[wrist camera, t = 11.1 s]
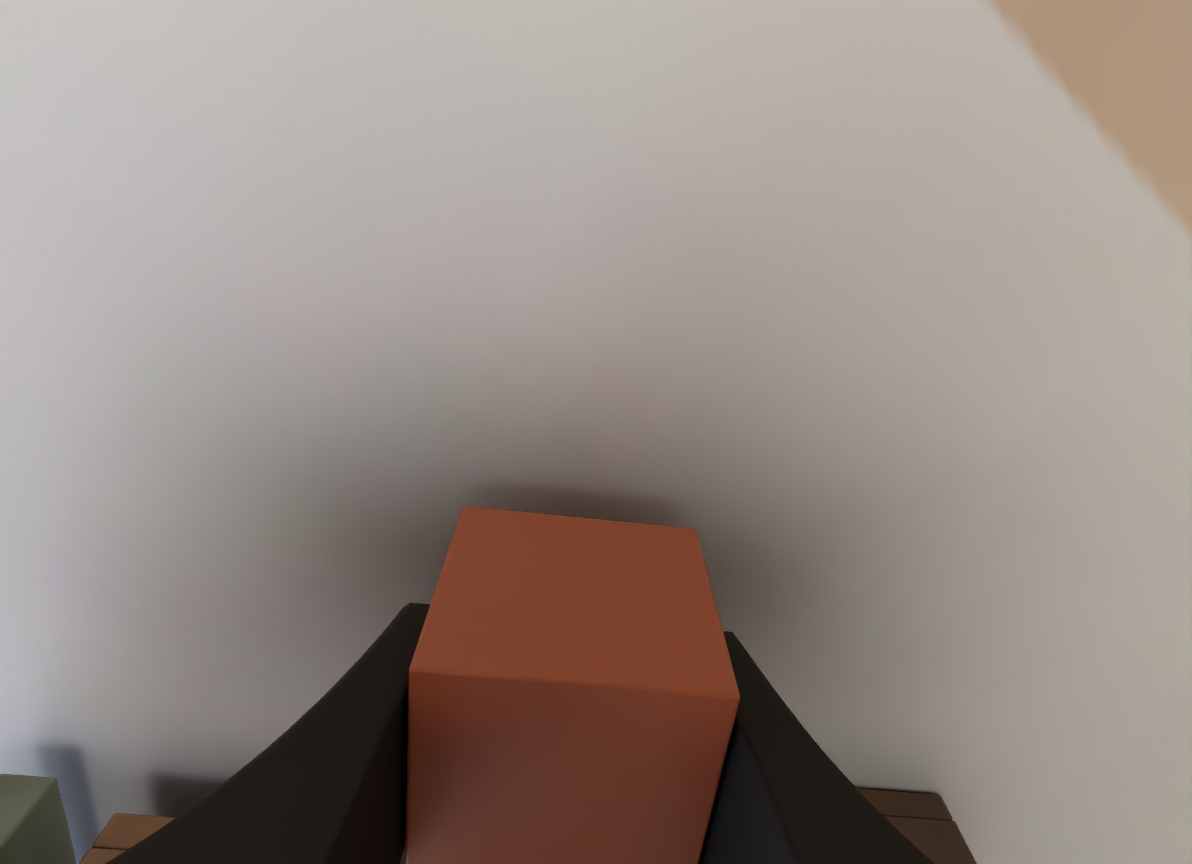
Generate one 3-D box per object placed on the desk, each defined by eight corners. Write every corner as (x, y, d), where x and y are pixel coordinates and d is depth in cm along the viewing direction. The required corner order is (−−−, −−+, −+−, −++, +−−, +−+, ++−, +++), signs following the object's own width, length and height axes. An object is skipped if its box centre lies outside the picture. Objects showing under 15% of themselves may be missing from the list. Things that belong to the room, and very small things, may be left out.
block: (452, 689, 14) (402, 895, 10) (462, 504, 12) (408, 668, 9) (661, 707, 14) (687, 914, 10) (697, 527, 12) (741, 696, 9)
